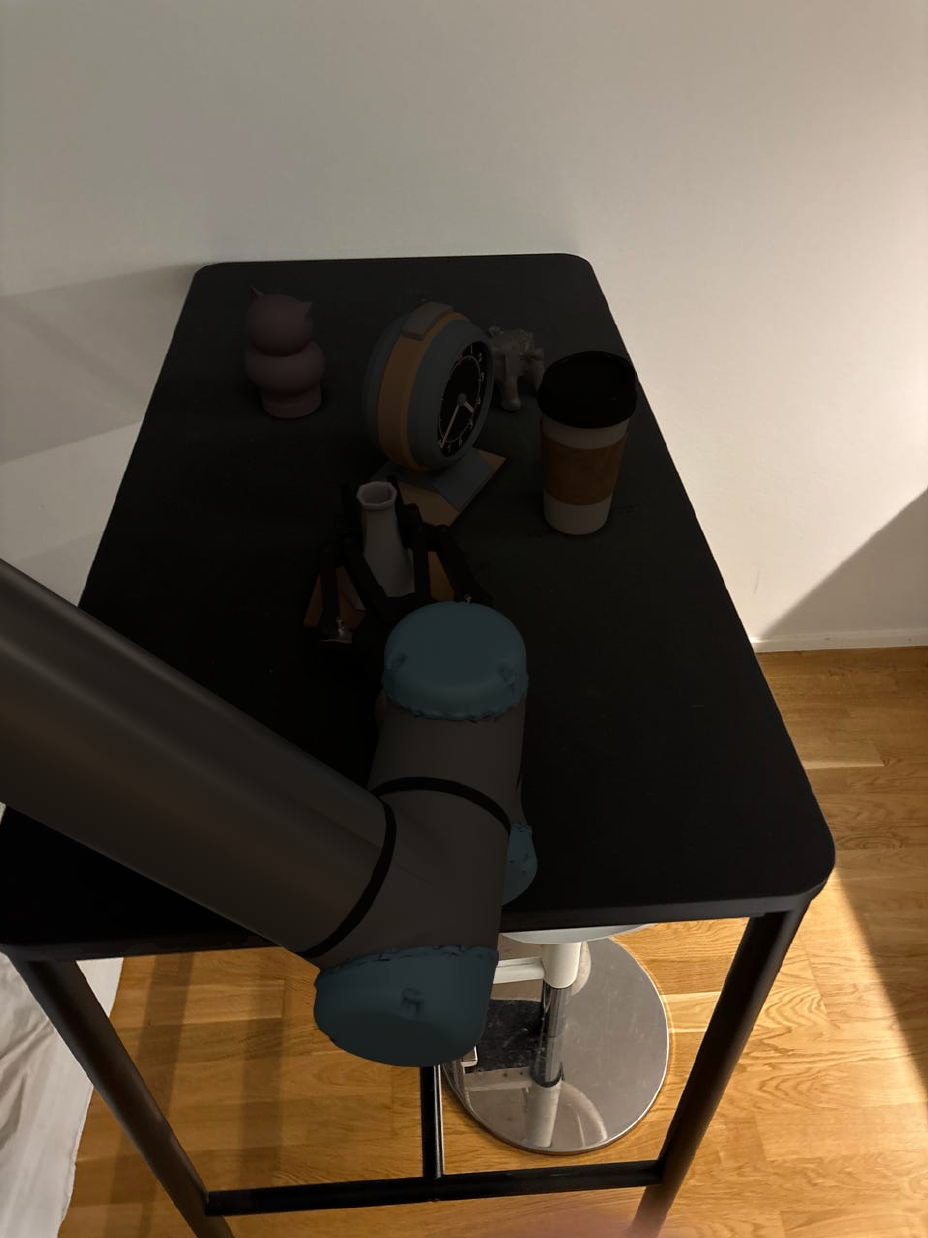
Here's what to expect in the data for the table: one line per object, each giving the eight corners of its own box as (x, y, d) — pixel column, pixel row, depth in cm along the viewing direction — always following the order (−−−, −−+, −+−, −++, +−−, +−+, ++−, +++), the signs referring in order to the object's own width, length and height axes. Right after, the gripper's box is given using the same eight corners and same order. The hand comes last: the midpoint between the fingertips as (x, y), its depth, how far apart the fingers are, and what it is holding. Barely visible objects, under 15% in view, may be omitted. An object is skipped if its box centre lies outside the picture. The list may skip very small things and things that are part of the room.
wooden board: (303, 626, 82) (303, 622, 81) (328, 547, 89) (328, 544, 88) (446, 637, 81) (446, 634, 80) (460, 556, 88) (460, 553, 87)
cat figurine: (236, 409, 104) (215, 304, 96) (279, 374, 109) (263, 271, 101) (303, 430, 102) (287, 324, 93) (344, 393, 106) (332, 289, 98)
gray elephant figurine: (557, 384, 107) (561, 320, 102) (515, 443, 100) (517, 376, 94) (479, 366, 110) (480, 302, 105) (433, 422, 103) (430, 356, 97)
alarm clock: (440, 536, 90) (435, 364, 77) (350, 505, 93) (332, 335, 80) (510, 454, 98) (515, 288, 86) (425, 428, 102) (419, 264, 89)
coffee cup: (639, 521, 91) (662, 379, 80) (568, 556, 88) (581, 412, 77) (582, 476, 96) (596, 336, 85) (512, 507, 92) (517, 366, 82)
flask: (420, 553, 87) (415, 460, 80) (433, 609, 82) (428, 516, 75) (339, 562, 86) (327, 470, 79) (346, 620, 81) (334, 527, 74)
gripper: (314, 751, 69) (279, 540, 85) (537, 708, 72) (462, 511, 88) (301, 681, 64) (266, 470, 80) (542, 637, 66) (461, 441, 82)
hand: (368, 491), depth 84 cm, fingers closed on flask, 3 cm apart
